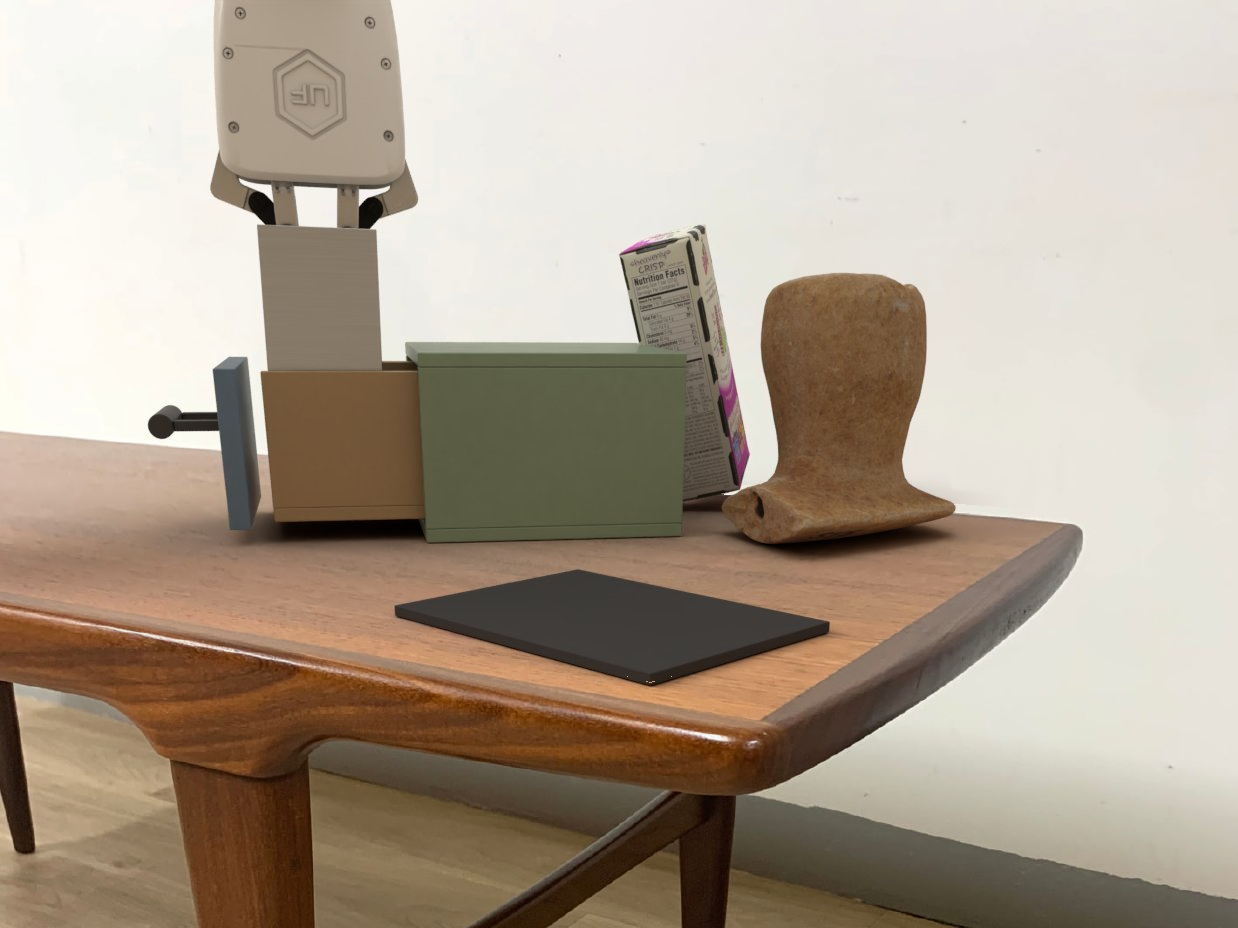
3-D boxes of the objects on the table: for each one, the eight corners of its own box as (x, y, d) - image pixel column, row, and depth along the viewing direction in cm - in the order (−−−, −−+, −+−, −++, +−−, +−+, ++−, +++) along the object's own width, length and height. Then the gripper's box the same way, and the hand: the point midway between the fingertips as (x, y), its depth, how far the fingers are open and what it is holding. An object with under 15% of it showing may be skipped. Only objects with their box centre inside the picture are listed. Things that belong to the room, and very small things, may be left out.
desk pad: (394, 615, 60) (393, 605, 60) (577, 578, 68) (577, 569, 68) (650, 686, 50) (650, 673, 50) (829, 632, 58) (830, 621, 58)
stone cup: (842, 510, 90) (860, 274, 84) (978, 535, 81) (1008, 275, 75) (671, 530, 82) (677, 271, 76) (802, 561, 73) (820, 270, 67)
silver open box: (274, 460, 75) (256, 224, 70) (279, 443, 83) (264, 230, 79) (386, 460, 77) (376, 229, 72) (380, 444, 85) (371, 235, 80)
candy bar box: (686, 471, 98) (639, 239, 91) (751, 457, 97) (708, 221, 90) (669, 506, 89) (615, 249, 81) (741, 492, 87) (692, 230, 80)
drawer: (153, 532, 74) (131, 368, 70) (176, 499, 85) (158, 356, 82) (481, 524, 78) (475, 368, 74) (462, 493, 89) (456, 357, 85)
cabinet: (427, 543, 77) (417, 352, 73) (413, 506, 89) (404, 341, 85) (682, 536, 80) (687, 353, 76) (635, 502, 92) (637, 342, 88)
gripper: (141, -78, 65) (179, 318, 72) (452, -51, 68) (459, 325, 75) (159, -43, 72) (192, 315, 79) (441, -20, 75) (449, 322, 82)
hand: (323, 318), depth 77 cm, fingers closed on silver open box, 1 cm apart
